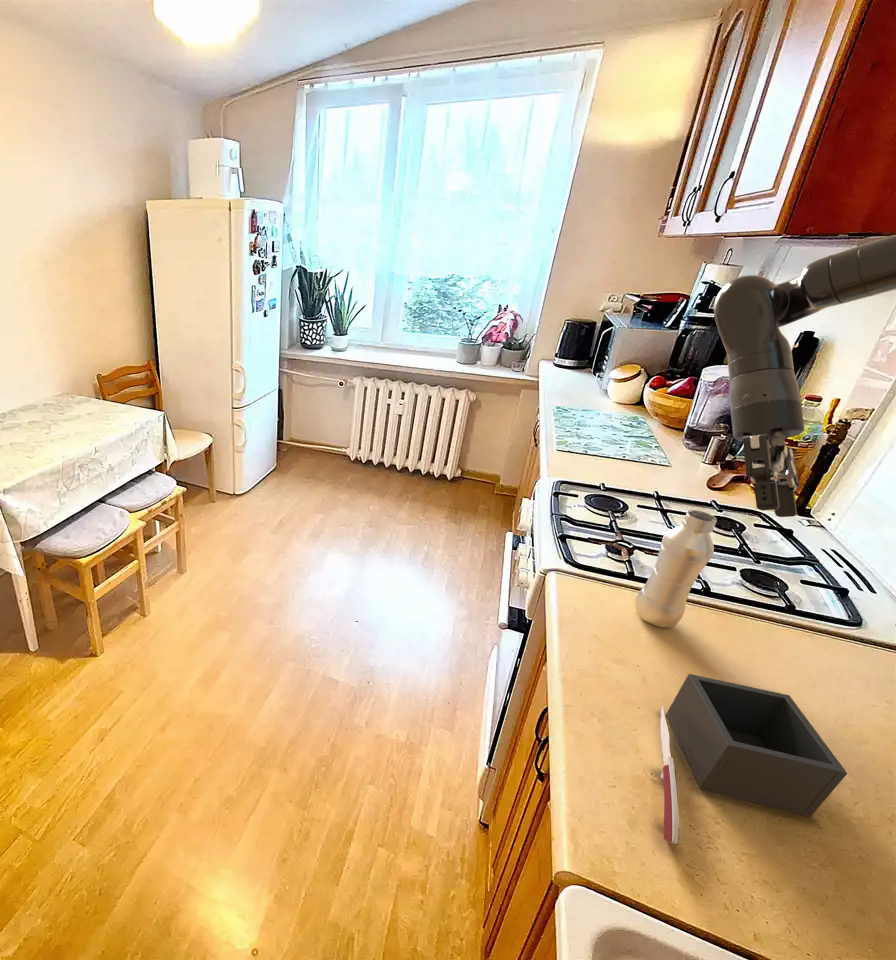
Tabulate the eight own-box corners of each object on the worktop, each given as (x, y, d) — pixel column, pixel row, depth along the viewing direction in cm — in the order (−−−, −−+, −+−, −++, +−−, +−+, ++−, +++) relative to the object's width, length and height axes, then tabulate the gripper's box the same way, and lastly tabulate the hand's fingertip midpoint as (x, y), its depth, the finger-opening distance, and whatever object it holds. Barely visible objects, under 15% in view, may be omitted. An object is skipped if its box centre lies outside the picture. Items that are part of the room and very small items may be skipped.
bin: (759, 737, 67) (789, 694, 63) (810, 817, 58) (848, 773, 54) (665, 715, 70) (688, 673, 66) (699, 788, 61) (728, 744, 57)
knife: (676, 856, 54) (687, 839, 53) (661, 849, 55) (672, 832, 53) (662, 715, 70) (670, 700, 68) (650, 711, 70) (659, 696, 69)
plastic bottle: (639, 628, 85) (688, 524, 76) (623, 602, 90) (667, 502, 81) (684, 636, 83) (739, 530, 74) (665, 608, 89) (714, 508, 80)
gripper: (785, 387, 71) (800, 505, 68) (813, 410, 78) (828, 517, 75) (714, 401, 77) (726, 509, 74) (746, 420, 84) (758, 519, 81)
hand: (777, 513), depth 75 cm, fingers open, 8 cm apart
